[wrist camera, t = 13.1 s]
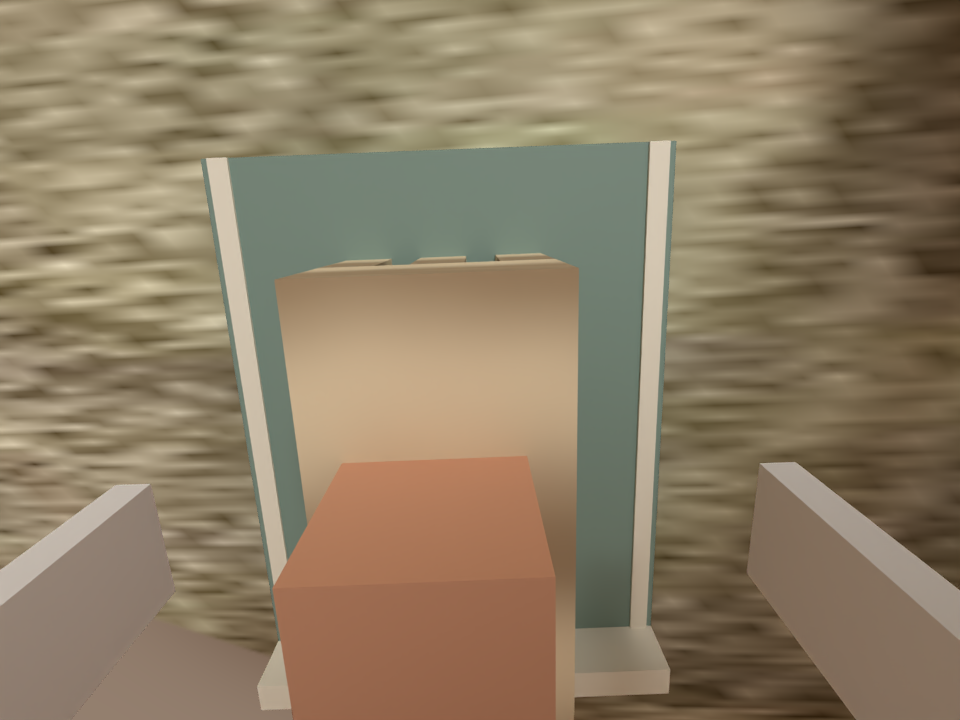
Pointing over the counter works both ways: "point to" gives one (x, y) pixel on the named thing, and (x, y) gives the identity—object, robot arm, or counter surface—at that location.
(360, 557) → the orange cube
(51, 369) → the counter surface
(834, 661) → the robot arm
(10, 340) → the counter surface
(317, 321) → the tan rectangular block
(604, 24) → the counter surface
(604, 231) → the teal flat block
